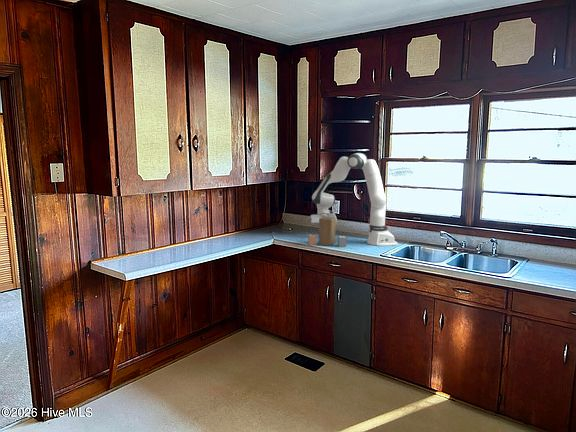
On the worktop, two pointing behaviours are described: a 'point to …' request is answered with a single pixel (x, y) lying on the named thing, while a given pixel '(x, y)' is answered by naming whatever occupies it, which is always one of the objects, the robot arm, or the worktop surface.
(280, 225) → the worktop surface
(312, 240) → the terracotta block
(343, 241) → the slate block
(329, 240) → the wooden block
